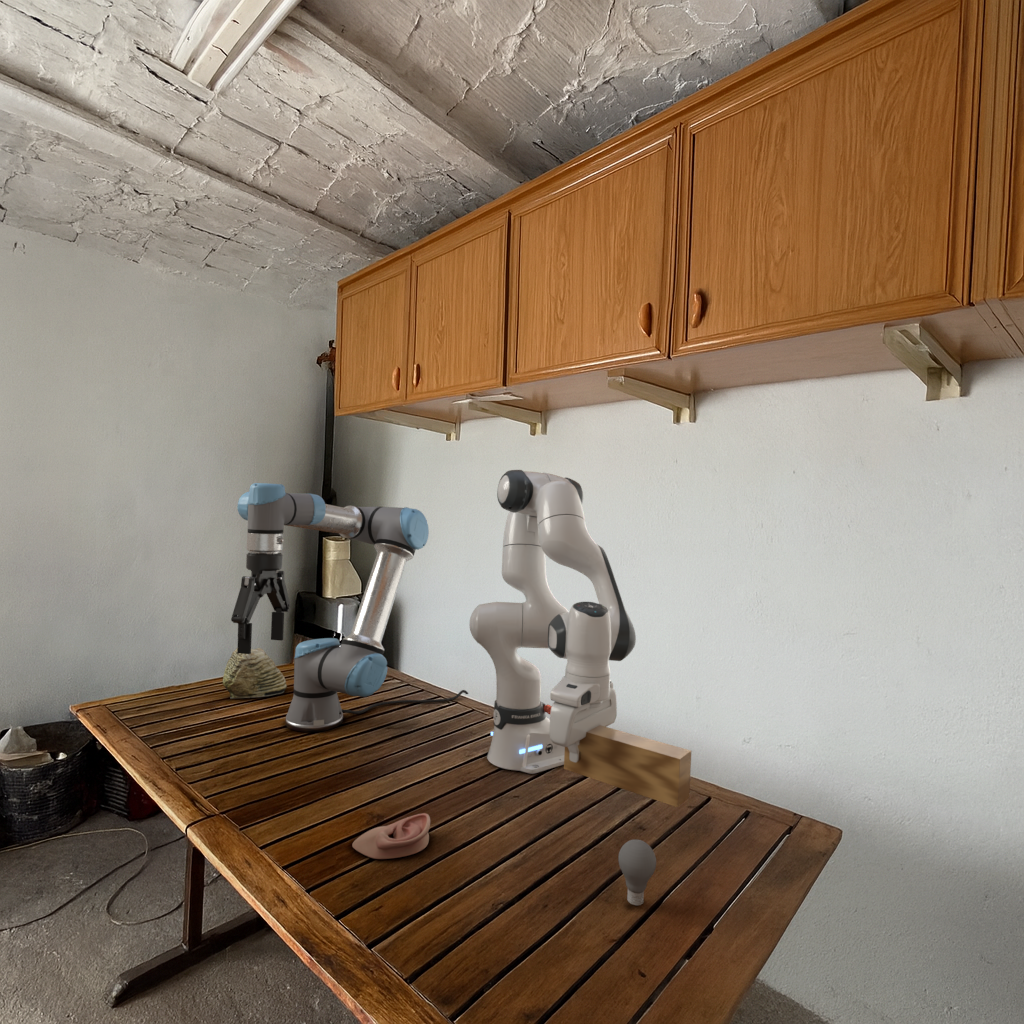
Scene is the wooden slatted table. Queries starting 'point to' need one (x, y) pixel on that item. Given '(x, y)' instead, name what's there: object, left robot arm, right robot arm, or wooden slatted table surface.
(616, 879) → the wooden slatted table surface
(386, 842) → the anatomical model
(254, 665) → the fossil
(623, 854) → the light bulb
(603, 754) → the bar
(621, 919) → the wooden slatted table surface
